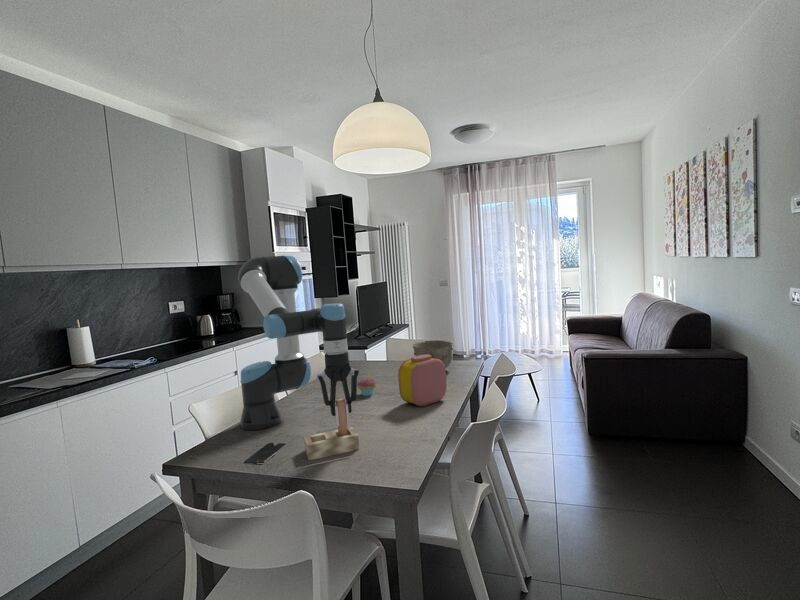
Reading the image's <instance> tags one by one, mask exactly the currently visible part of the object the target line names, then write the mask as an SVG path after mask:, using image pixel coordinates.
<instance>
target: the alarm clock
mask: <svg viewBox="0 0 800 600" xmlns="http://www.w3.org/2000/svg"><path fill="white" fill-rule="evenodd" d="M397 373H398V374H397V376H398V391H399V395H400V398H401V399H402V400H403V401H404V402H406V403H411V404H414V405H416V406H417V407H425V406H428V405H431V404H434V403H435V404H436V403H437V402H440V401H441V400H443V399H444V396H445V395H446V392H447V385H448V384H447V368H446V369H445V365H444V364H443V362H442V361H441V360H439V359H433V358H432V355H428V354H425V355H420V356H415V355H414V356H412V357H410V358H409V359H406V360H404V361H403V362H402V363H401V364H400V366H399V369H398V372H397Z"/></svg>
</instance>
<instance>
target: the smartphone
mask: <svg viewBox="0 0 800 600" xmlns="http://www.w3.org/2000/svg"><path fill="white" fill-rule="evenodd" d="M284 446H286V442H285V443H283V442H280V443H277V444H274V442H268V443H266V444H265V445H264V446H263V447H261V448H260V449H259V450H257V451H256V452H255V453H253V454H252V455H251V456H249V457H248V458H246V459H245V460H243V464H245V463H264V462H265V461H267V460H268V459H269V458H271V457H272V456H273V455H274V456H276V455H275V454H276V453H277V452H278V451H280V449H282V448H283V447H284ZM274 456H273V457H274ZM273 457H272V458H273ZM272 458H271V459H272ZM269 460H270V459H269ZM269 460H268V461H269ZM268 461H267V462H268ZM264 464H265V463H264Z"/></svg>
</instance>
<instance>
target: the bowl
mask: <svg viewBox="0 0 800 600" xmlns="http://www.w3.org/2000/svg"><path fill="white" fill-rule="evenodd" d="M453 345H454V344H453V342H451V341H446V340H437V339H436V340H425V341H421V342H415V343H413V344H412V348H413V351H414V353H413V355H414V357H415V356H420V355H425V354H428V355H432V358H433V359H439V360H441V361H442V362H443V364H444V365H445V369H446V370H447V368H448V367H449V366H450V364H451V363H452V360H453V350H454V348H453Z"/></svg>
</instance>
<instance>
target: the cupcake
mask: <svg viewBox="0 0 800 600" xmlns="http://www.w3.org/2000/svg"><path fill="white" fill-rule="evenodd" d="M367 375H368V376H367V378H364V379H361V380H359V382H358V381H357V389H359V391H360V393H361V395H362V396H364V397H369V396H372V395H373V394H374V389H375V388H376V386H377V382H376V381H375V380H373V379H371V378H370V377H371V376H370V375H371V368H369V370H368V374H367Z"/></svg>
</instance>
